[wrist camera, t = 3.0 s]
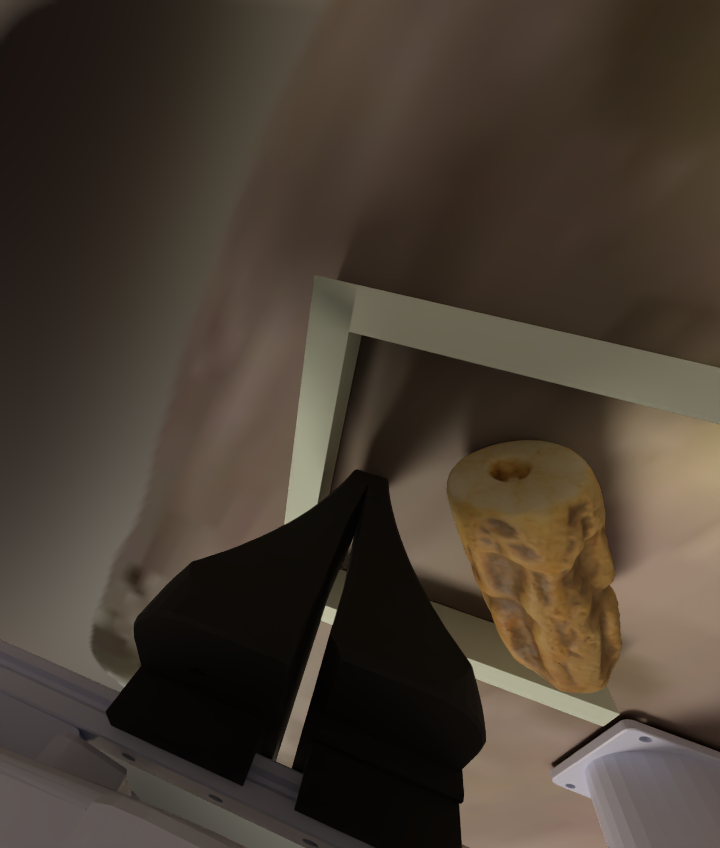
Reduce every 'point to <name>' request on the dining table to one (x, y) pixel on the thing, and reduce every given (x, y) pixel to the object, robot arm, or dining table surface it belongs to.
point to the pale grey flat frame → (490, 346)
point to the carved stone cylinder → (541, 558)
